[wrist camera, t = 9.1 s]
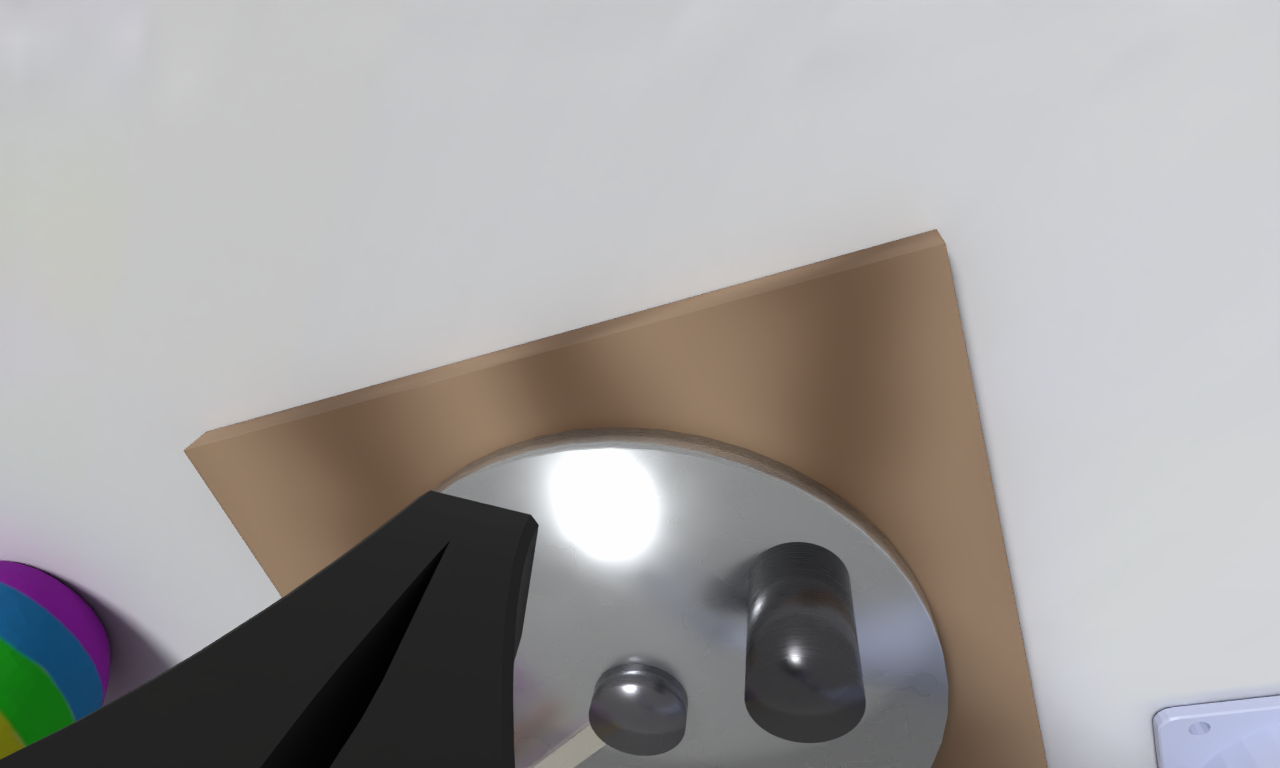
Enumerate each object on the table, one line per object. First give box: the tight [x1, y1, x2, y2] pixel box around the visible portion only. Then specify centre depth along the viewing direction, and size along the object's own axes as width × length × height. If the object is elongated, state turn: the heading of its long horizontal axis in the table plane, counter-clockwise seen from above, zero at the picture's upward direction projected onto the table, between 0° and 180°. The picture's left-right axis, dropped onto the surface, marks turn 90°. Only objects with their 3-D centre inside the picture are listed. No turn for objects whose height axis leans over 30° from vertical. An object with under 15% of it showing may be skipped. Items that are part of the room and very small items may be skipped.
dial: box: [432, 427, 948, 768], centre depth 21 cm, size 16×16×5 cm
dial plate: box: [184, 229, 1047, 768], centre depth 22 cm, size 20×20×4 cm
